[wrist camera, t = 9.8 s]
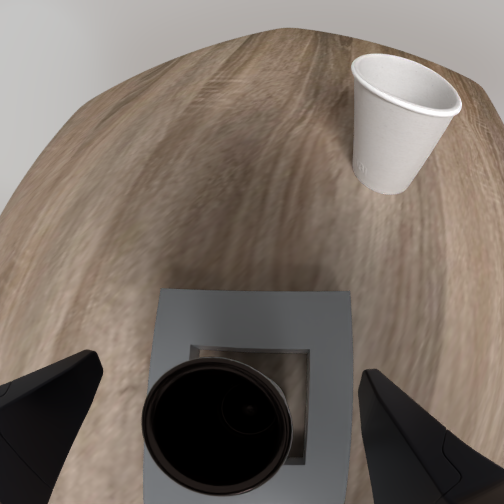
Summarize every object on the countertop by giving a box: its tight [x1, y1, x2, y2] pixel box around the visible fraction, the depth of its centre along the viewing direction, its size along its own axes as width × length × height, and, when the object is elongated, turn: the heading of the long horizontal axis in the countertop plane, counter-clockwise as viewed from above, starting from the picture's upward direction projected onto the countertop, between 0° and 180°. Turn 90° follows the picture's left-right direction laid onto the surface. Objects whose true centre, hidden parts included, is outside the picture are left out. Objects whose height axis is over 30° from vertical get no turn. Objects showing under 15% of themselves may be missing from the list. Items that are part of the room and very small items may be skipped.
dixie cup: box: [351, 54, 462, 195], centre depth 19 cm, size 8×8×10 cm
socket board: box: [143, 288, 353, 504], centre depth 14 cm, size 18×12×2 cm, turn 177°
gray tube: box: [142, 357, 293, 497], centre depth 11 cm, size 4×4×10 cm
